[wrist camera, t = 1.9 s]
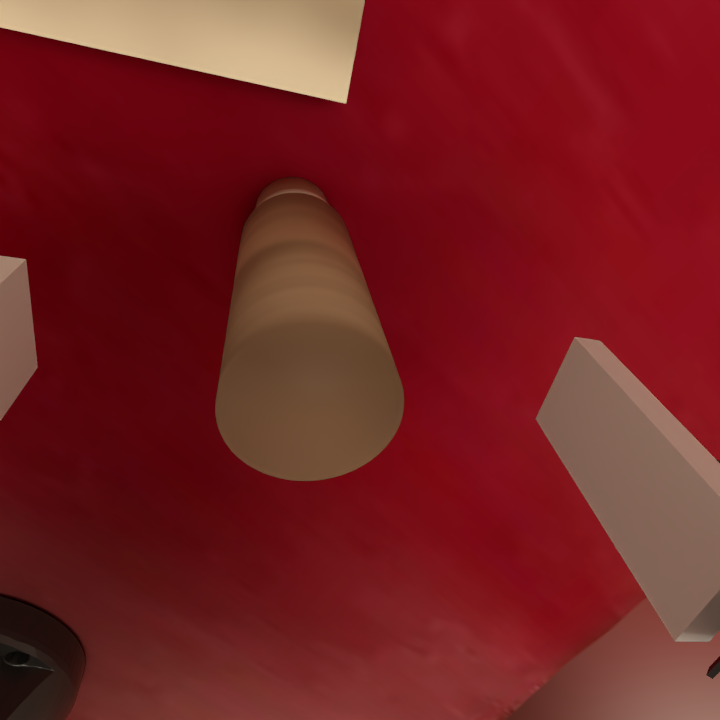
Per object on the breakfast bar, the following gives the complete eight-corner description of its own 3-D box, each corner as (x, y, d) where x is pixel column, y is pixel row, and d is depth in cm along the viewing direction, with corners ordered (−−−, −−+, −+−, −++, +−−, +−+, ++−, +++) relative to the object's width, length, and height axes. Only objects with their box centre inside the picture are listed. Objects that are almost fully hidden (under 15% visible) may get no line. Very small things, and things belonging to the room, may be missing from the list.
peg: (330, 265, 25) (380, 486, 13) (240, 251, 24) (208, 475, 12) (347, 176, 23) (425, 342, 11) (250, 158, 22) (224, 317, 10)
